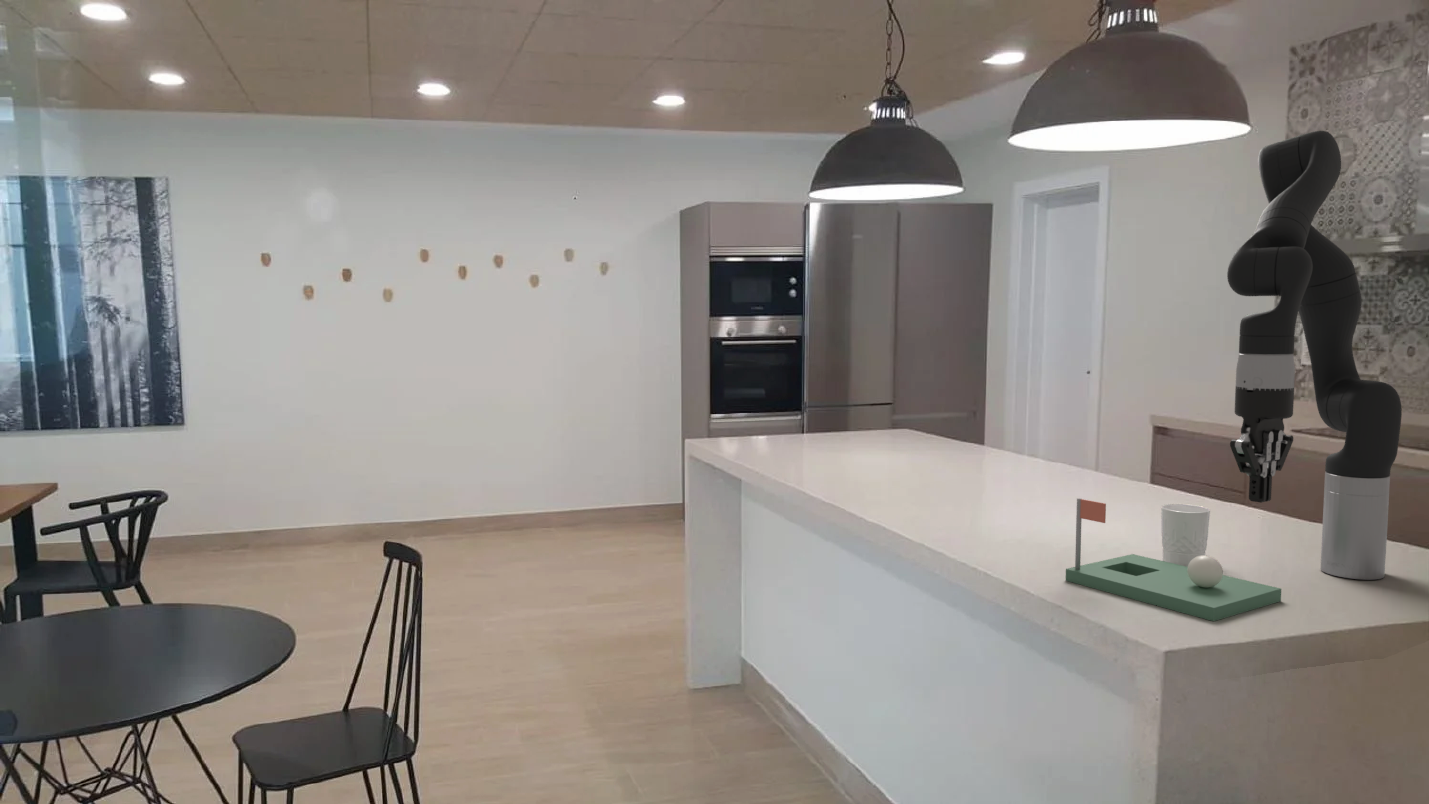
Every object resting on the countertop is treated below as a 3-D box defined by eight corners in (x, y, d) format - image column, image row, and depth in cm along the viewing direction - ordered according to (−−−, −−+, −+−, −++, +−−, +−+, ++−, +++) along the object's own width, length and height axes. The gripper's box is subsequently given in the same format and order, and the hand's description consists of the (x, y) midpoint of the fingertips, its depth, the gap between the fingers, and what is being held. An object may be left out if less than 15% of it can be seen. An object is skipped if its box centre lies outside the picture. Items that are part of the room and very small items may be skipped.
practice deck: (1132, 565, 173) (1134, 487, 172) (1280, 601, 151) (1284, 512, 150) (1065, 580, 164) (1067, 498, 163) (1213, 621, 142) (1217, 527, 140)
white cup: (1166, 555, 180) (1168, 502, 179) (1212, 561, 175) (1214, 507, 174) (1154, 563, 174) (1155, 509, 173) (1201, 571, 169) (1204, 514, 168)
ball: (1198, 580, 156) (1200, 550, 155) (1229, 588, 151) (1230, 556, 151) (1180, 585, 153) (1181, 554, 153) (1210, 593, 149) (1211, 561, 148)
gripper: (1264, 381, 149) (1259, 492, 151) (1213, 385, 142) (1208, 502, 144) (1315, 384, 143) (1310, 500, 144) (1264, 388, 136) (1259, 510, 137)
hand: (1259, 500), depth 144 cm, fingers closed
